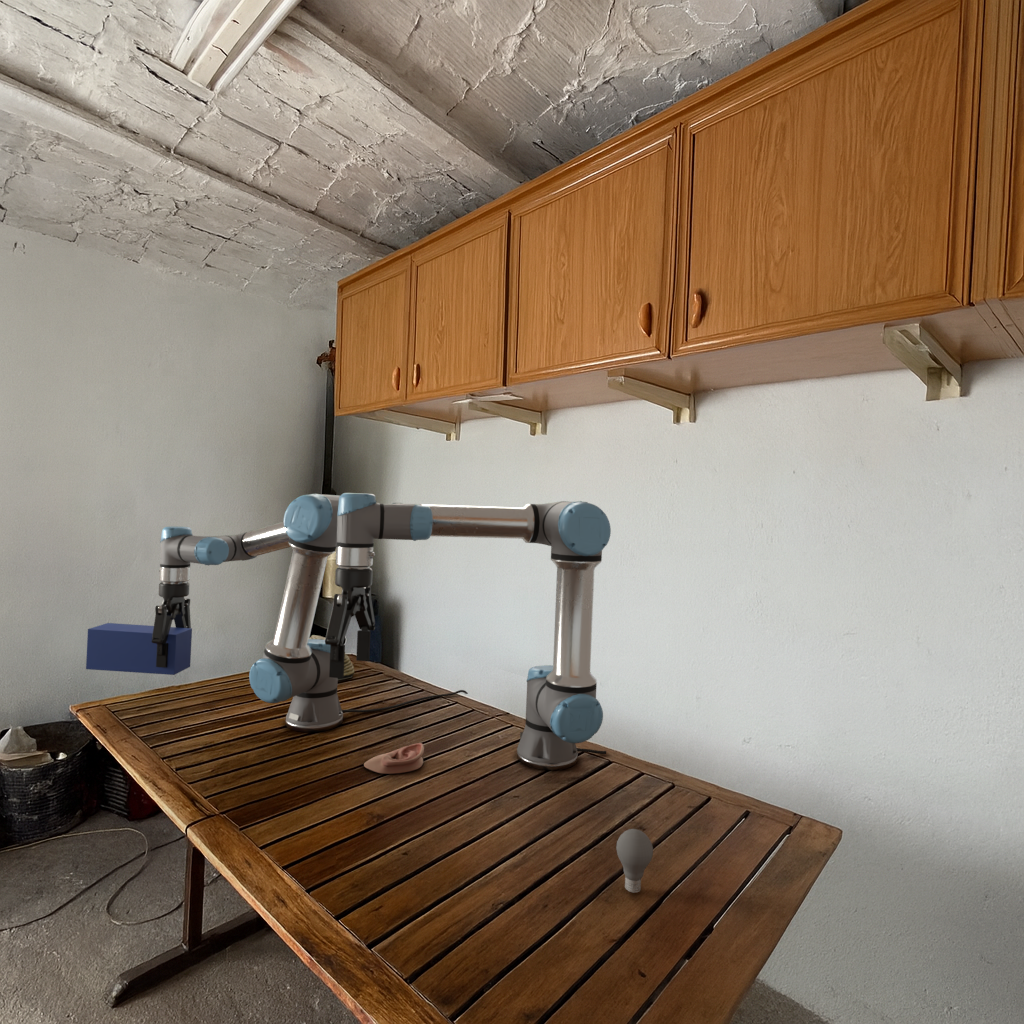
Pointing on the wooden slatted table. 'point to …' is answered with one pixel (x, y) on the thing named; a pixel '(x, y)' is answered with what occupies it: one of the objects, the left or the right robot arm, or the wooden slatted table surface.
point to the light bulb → (634, 857)
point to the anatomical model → (397, 760)
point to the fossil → (347, 663)
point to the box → (136, 649)
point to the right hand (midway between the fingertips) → (350, 668)
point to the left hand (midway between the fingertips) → (170, 662)
